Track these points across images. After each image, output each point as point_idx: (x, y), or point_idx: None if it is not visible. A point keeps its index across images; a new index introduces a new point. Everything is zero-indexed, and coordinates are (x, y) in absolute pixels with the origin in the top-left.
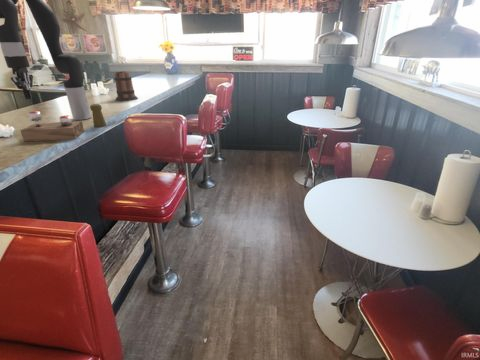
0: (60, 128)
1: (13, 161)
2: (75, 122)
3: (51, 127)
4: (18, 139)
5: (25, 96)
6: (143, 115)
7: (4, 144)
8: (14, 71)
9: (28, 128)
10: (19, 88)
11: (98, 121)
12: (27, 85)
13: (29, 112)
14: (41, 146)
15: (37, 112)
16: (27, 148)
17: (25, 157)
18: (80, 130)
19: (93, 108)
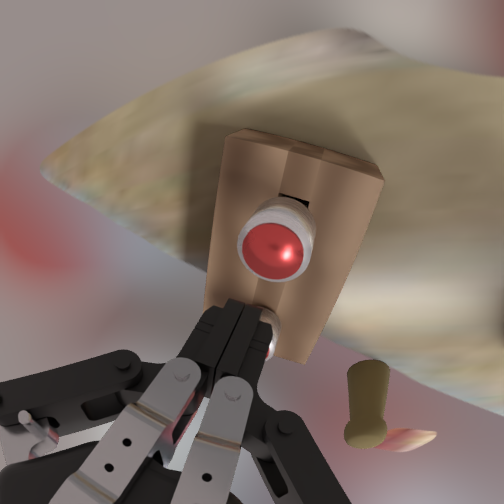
0: (204, 297)
1: (60, 167)
2: (292, 347)
3: (233, 269)
4: (302, 91)
5: (203, 317)
6: (409, 443)
7: (231, 55)
8: (11, 501)
9: (256, 168)
10: (114, 358)
11: (349, 387)
12: (180, 434)
13: (256, 230)
14: (156, 208)
15: (259, 271)
16: (145, 167)
17: (78, 186)
18: None
19: (348, 427)
